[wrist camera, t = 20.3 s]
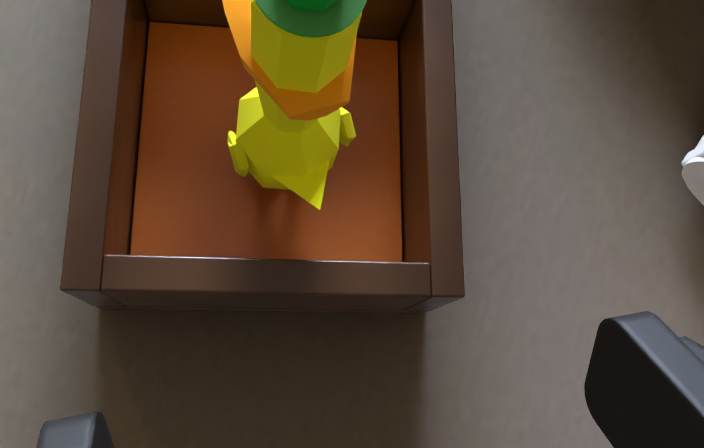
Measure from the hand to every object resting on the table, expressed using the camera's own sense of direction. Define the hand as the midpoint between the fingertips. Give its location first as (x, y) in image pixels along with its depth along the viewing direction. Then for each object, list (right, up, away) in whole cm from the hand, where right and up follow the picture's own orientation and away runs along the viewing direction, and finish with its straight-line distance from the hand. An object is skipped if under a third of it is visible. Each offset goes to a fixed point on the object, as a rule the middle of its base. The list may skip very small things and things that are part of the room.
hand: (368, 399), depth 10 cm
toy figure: (-3, +5, +12) cm, 13 cm away
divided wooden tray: (-3, +10, +14) cm, 17 cm away
